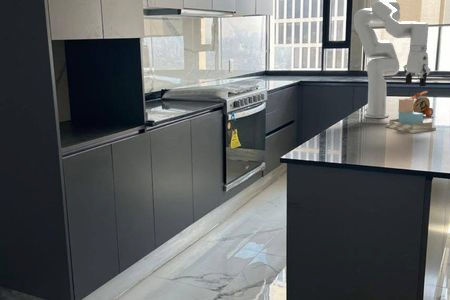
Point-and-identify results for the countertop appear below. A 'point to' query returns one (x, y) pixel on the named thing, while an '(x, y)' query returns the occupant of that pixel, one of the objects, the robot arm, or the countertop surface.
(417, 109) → the toy helicopter
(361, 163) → the countertop surface
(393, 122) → the jig
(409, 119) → the light blue block
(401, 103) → the peach brick
